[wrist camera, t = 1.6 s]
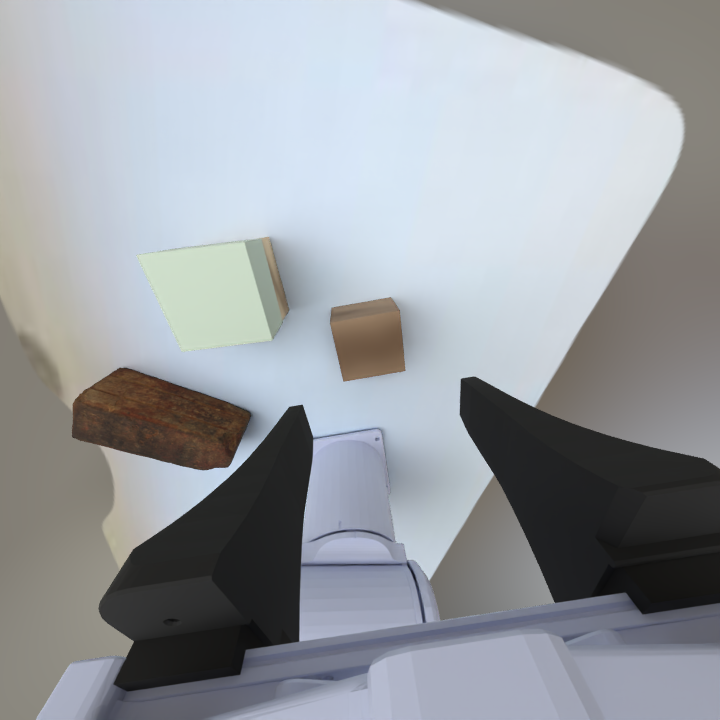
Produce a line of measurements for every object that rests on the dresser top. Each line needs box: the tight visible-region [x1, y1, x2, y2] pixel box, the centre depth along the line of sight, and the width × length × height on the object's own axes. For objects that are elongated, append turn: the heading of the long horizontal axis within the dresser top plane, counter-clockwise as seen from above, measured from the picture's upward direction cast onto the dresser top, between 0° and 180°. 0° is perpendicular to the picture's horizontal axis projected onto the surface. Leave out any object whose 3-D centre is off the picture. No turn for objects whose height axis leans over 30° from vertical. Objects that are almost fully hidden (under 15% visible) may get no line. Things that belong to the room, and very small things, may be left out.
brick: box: [72, 368, 251, 470], centre depth 21 cm, size 11×4×5 cm, turn 62°
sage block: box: [136, 238, 283, 352], centre depth 15 cm, size 5×5×3 cm
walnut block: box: [330, 297, 405, 382], centre depth 19 cm, size 4×4×4 cm
